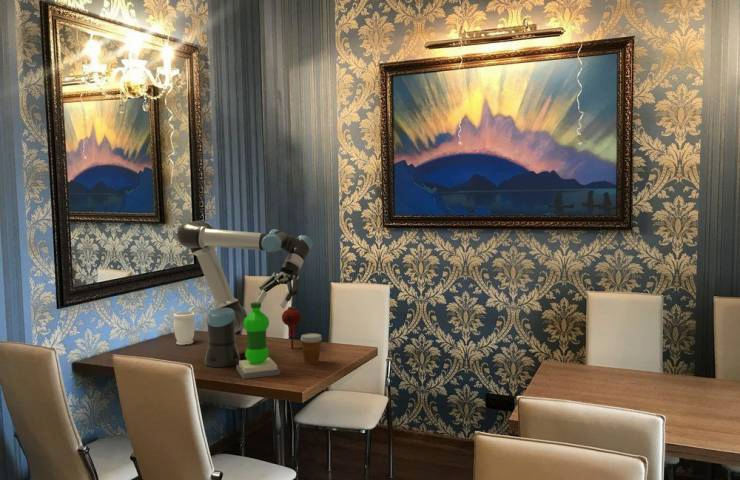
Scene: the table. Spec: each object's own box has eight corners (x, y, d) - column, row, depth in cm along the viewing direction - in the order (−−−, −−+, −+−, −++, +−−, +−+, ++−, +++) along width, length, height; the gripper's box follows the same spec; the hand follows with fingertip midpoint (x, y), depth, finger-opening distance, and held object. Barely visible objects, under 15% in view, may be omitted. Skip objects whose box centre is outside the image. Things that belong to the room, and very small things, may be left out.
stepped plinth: (236, 369, 266) (236, 360, 265) (271, 365, 271) (270, 356, 271) (243, 379, 252) (243, 369, 252) (279, 374, 258) (279, 365, 257)
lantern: (304, 346, 305) (303, 285, 303) (298, 351, 296) (296, 288, 293) (286, 345, 307) (285, 284, 305) (279, 350, 298) (277, 287, 296)
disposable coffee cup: (296, 363, 274) (295, 336, 273) (308, 358, 282) (308, 332, 281) (314, 366, 269) (314, 338, 269) (326, 361, 278) (326, 334, 277)
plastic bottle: (271, 359, 267) (269, 300, 265) (267, 365, 256) (266, 305, 255) (247, 359, 267) (246, 301, 265) (242, 366, 256) (241, 305, 255)
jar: (174, 341, 318) (173, 312, 317) (195, 339, 322) (194, 311, 320) (174, 346, 308) (173, 316, 307) (195, 344, 311) (195, 314, 310)
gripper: (318, 272, 273) (296, 313, 262) (274, 269, 286) (252, 307, 275) (310, 262, 268) (288, 302, 257) (266, 259, 282) (243, 297, 270)
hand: (269, 305), depth 266 cm, fingers open, 13 cm apart
